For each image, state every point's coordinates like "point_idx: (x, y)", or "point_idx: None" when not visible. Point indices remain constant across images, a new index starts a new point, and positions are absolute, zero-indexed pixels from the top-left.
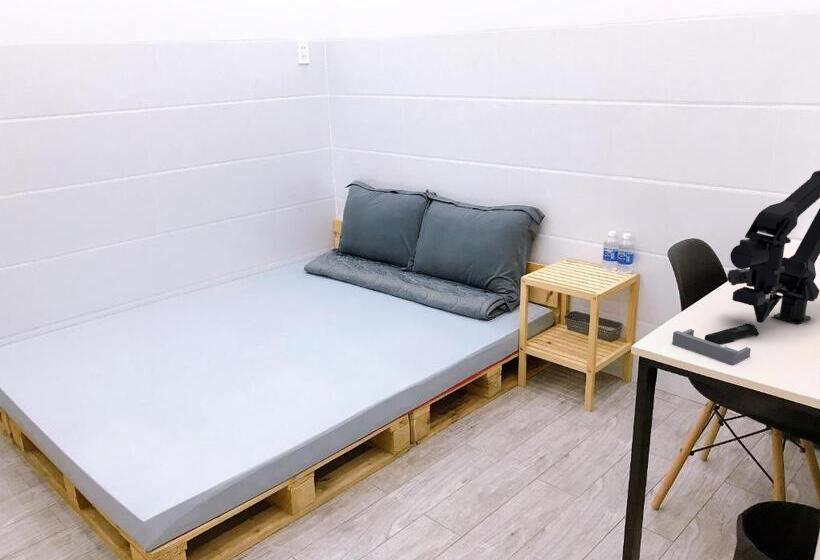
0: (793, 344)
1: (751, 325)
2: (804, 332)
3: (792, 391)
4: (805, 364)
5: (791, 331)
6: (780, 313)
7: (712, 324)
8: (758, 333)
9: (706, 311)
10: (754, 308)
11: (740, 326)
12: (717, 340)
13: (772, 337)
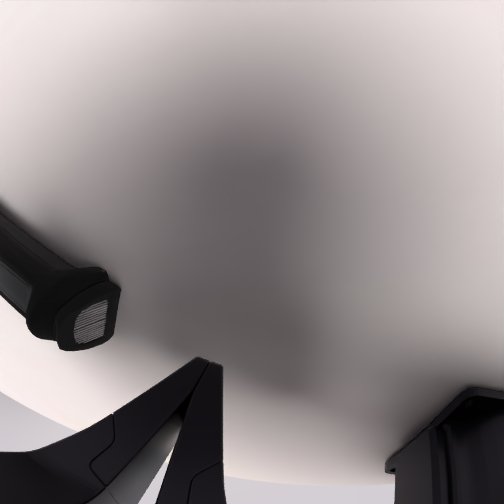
0: None
1: (54, 334)
2: (294, 472)
3: None
4: (54, 414)
5: (275, 448)
6: (433, 451)
7: (70, 50)
8: (101, 342)
9: None
10: (95, 427)
11: (17, 274)
12: None
13: (136, 385)
